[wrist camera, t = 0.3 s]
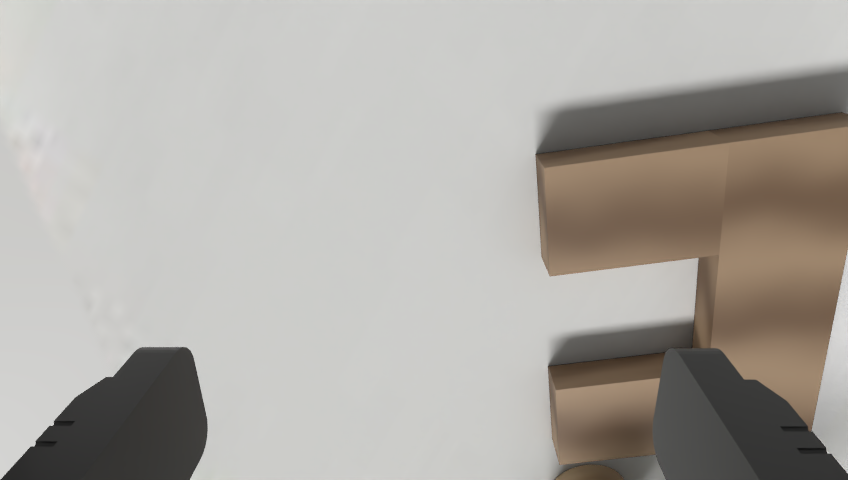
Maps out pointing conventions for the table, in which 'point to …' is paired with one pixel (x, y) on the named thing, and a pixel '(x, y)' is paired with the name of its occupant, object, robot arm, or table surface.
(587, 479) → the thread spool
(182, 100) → the table surface
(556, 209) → the notched board
